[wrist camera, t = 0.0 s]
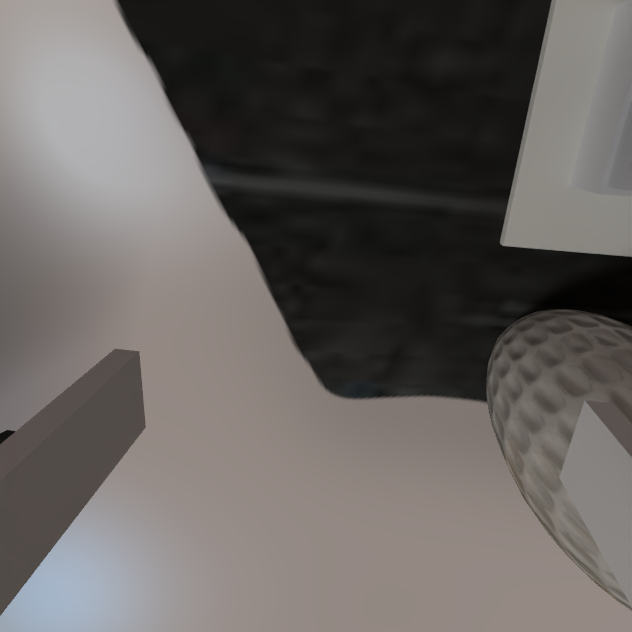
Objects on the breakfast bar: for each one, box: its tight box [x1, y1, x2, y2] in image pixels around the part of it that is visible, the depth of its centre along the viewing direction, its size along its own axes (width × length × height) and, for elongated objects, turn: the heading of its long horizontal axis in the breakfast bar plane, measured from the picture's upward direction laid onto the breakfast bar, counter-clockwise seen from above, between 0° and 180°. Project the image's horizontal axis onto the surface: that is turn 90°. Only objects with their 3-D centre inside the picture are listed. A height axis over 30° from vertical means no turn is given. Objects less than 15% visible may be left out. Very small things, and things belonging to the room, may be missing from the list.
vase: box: [486, 309, 632, 611], centre depth 29 cm, size 13×13×28 cm
